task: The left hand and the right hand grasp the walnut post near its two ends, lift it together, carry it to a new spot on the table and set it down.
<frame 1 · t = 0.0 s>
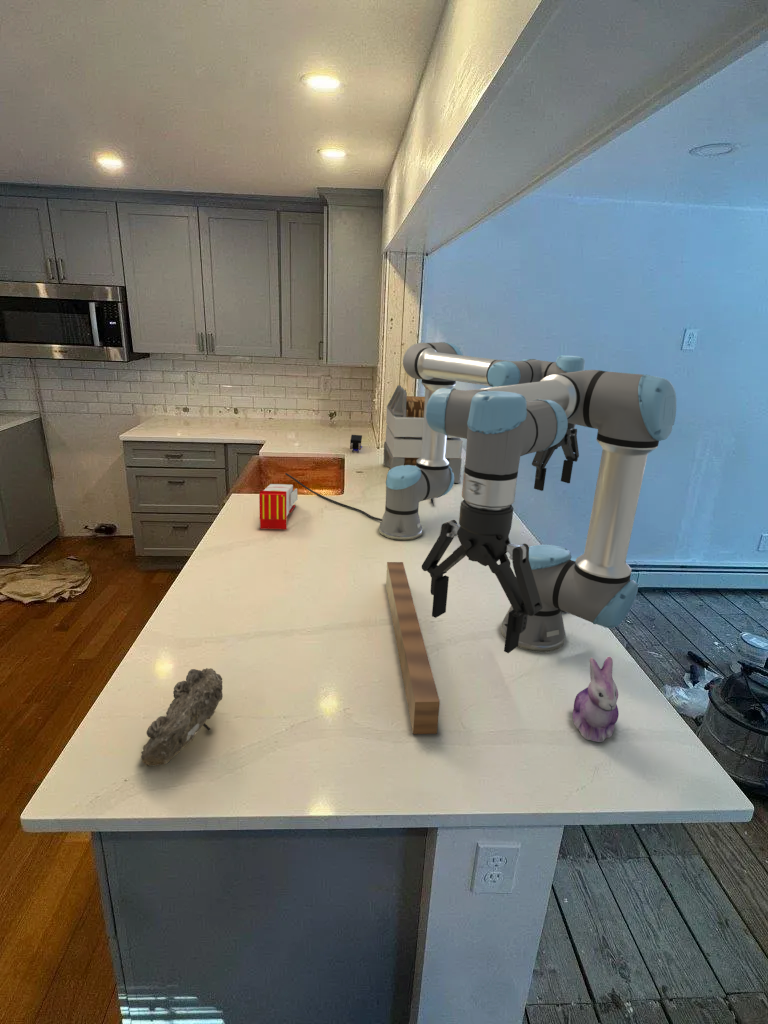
left hand: (552, 485, 166), 28 cm above the counter, tool pointing down, fingers open, 13 cm apart
right hand: (473, 630, 88), 28 cm above the counter, tool pointing down, fingers open, 13 cm apart
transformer: (419, 473, 275), on the counter
figurine: (594, 727, 110), on the counter
fossil: (190, 728, 105), on the counter
figurine character: (355, 450, 313), on the counter
toy: (278, 516, 211), on the counter
feather: (431, 496, 242), on the counter
post: (406, 643, 135), on the counter
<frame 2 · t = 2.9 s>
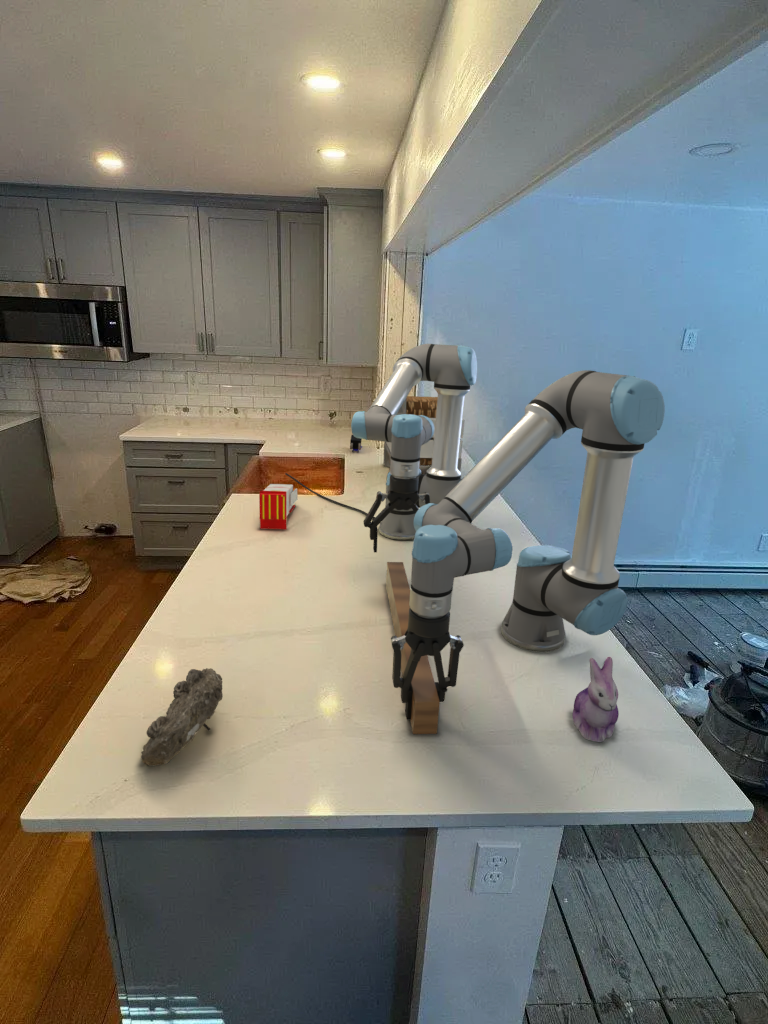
left hand: (399, 550, 154), 13 cm above the counter, tool pointing down, fingers open, 13 cm apart
right hand: (421, 714, 111), 0 cm above the counter, tool pointing down, fingers closed on post, 5 cm apart
post: (406, 643, 135), on the counter, touching right hand
everything else where it was.
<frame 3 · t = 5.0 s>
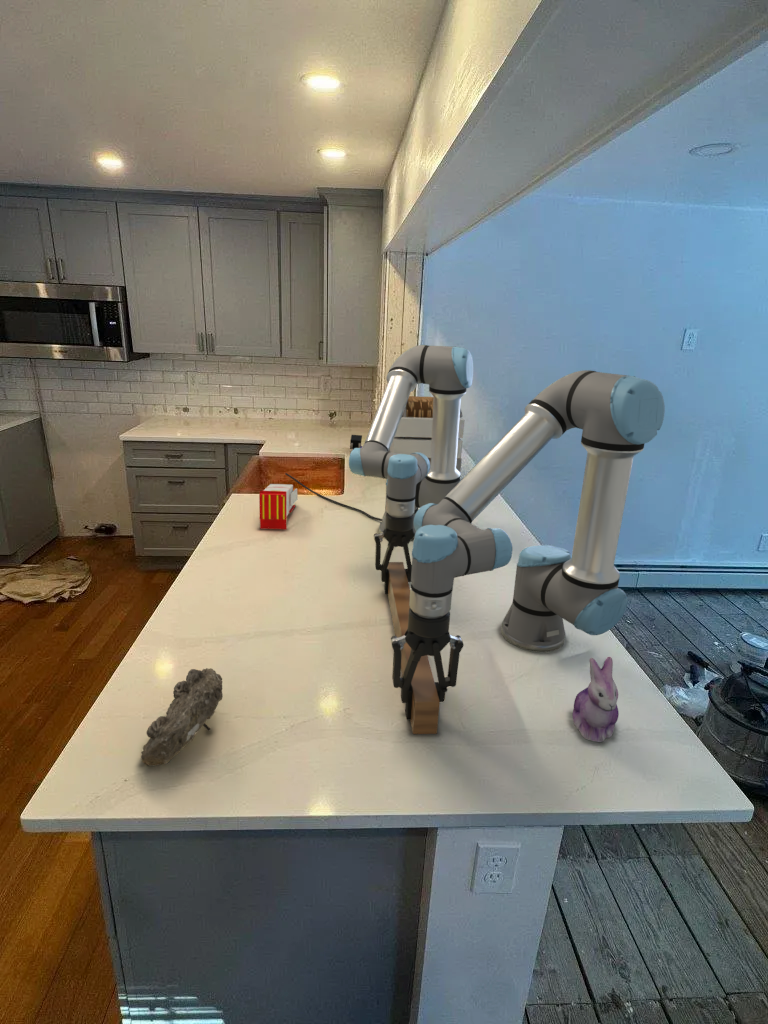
left hand: (395, 591, 158), 1 cm above the counter, tool pointing down, fingers closed on post, 5 cm apart
right hand: (421, 714, 111), 0 cm above the counter, tool pointing down, fingers closed on post, 5 cm apart
post: (406, 643, 135), on the counter, touching left hand, right hand
everything else where it was.
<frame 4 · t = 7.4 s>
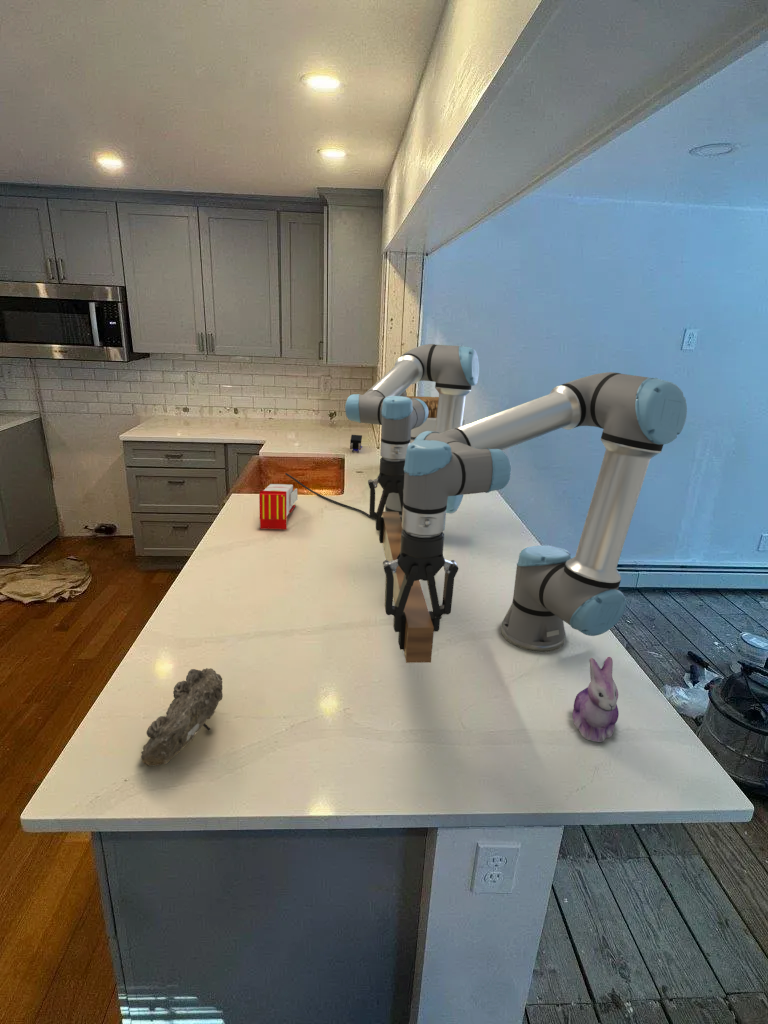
left hand: (390, 540, 154), 15 cm above the counter, tool pointing down, fingers closed on post, 5 cm apart
right hand: (415, 645, 107), 15 cm above the counter, tool pointing down, fingers closed on post, 5 cm apart
post: (400, 585, 130), point 15 cm above the counter, touching left hand, right hand
everything else where it was.
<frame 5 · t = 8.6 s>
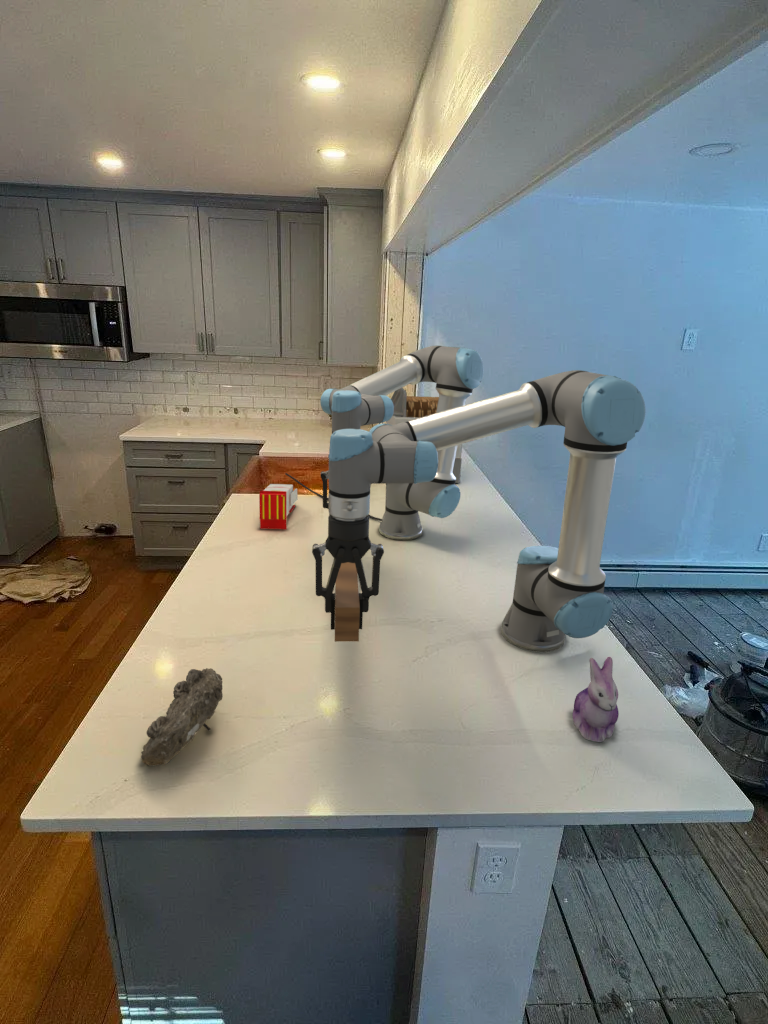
left hand: (344, 530, 159), 15 cm above the counter, tool pointing down, fingers closed on post, 5 cm apart
right hand: (346, 625, 112), 16 cm above the counter, tool pointing down, fingers closed on post, 5 cm apart
post: (345, 572, 136), point 15 cm above the counter, touching left hand, right hand
everything else where it was.
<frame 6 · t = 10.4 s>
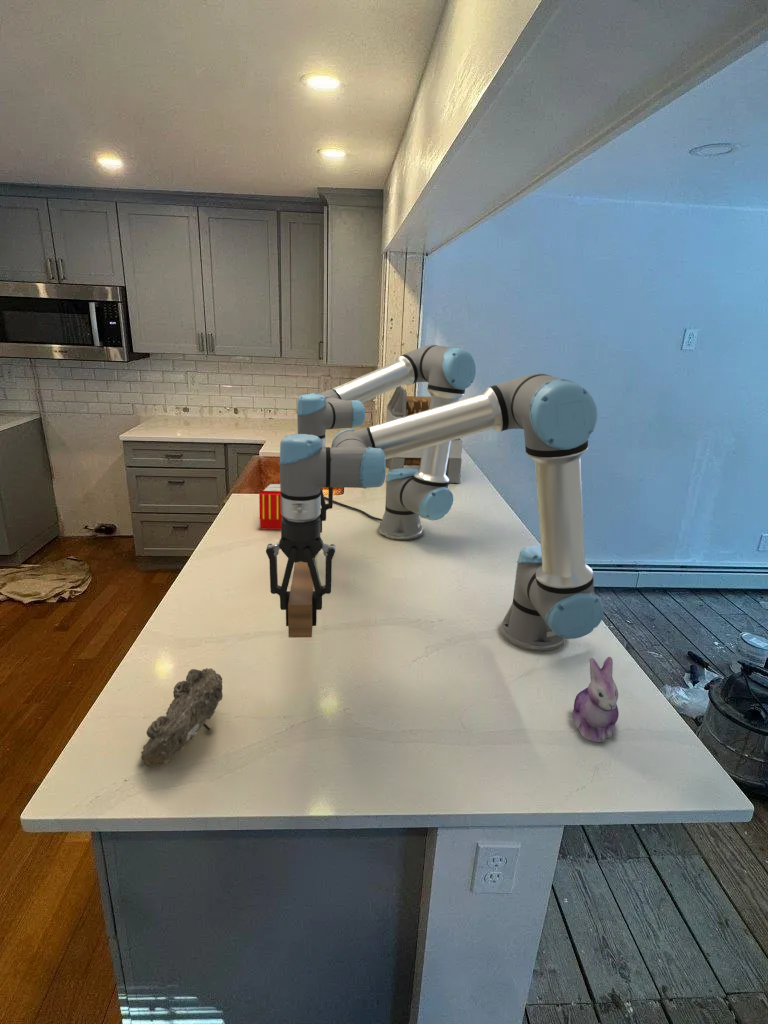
left hand: (311, 530, 164), 13 cm above the counter, tool pointing down, fingers closed on post, 5 cm apart
right hand: (301, 622, 116), 13 cm above the counter, tool pointing down, fingers closed on post, 5 cm apart
post: (307, 570, 140), point 13 cm above the counter, touching left hand, right hand
everything else where it was.
when the left hand's fingers open (2 cm above the counter, at t = 12.2 s): post drops 1 cm, on the counter.
when the right hand's fingers open (2 cm above the counter, at t = 12.2 s): post drops 1 cm, on the counter.
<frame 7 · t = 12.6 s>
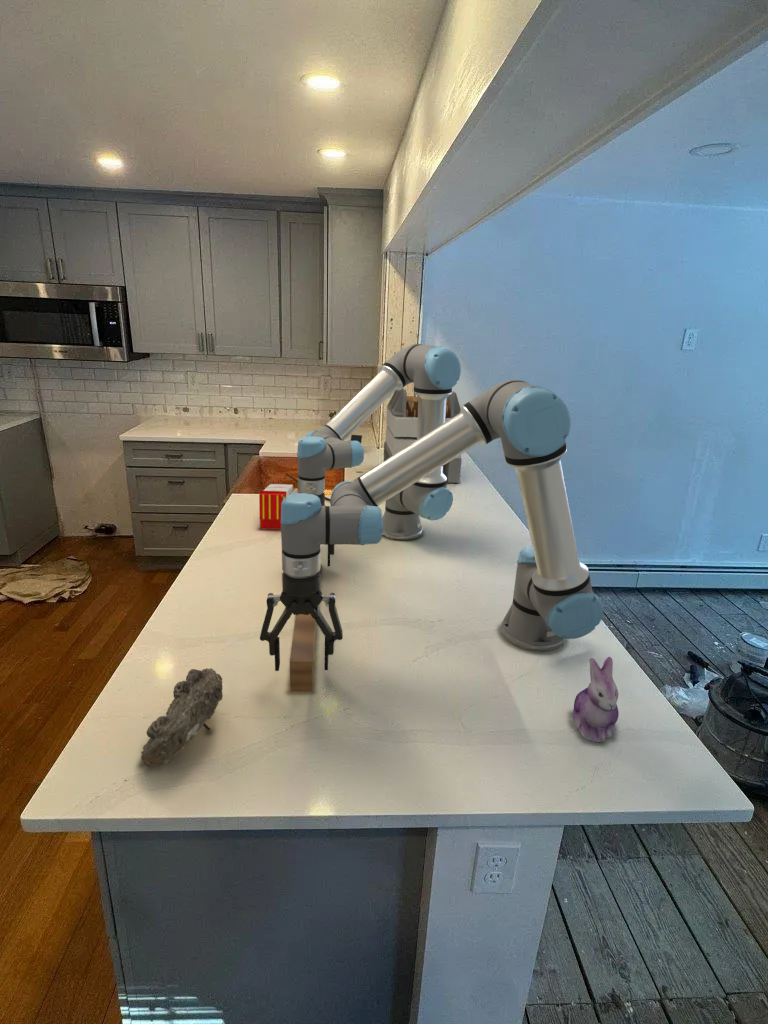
left hand: (311, 564, 167), 3 cm above the counter, tool pointing down, fingers open, 9 cm apart
right hand: (302, 666, 120), 3 cm above the counter, tool pointing down, fingers open, 9 cm apart
post: (308, 616, 144), on the counter
everything else where it was.
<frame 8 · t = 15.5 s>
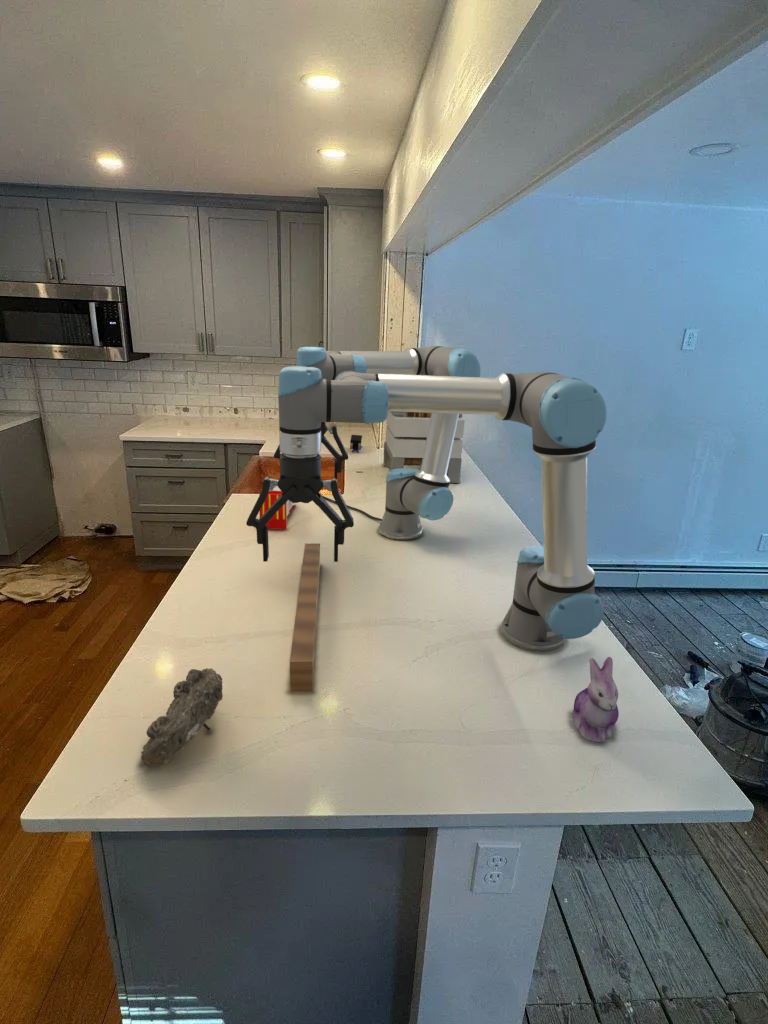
left hand: (311, 483, 159), 28 cm above the counter, tool pointing down, fingers open, 13 cm apart
right hand: (301, 559, 111), 28 cm above the counter, tool pointing down, fingers open, 13 cm apart
nothing on the counter moved.
at the end: post inside the target area (0.1 cm from its centre), on the counter; post tilted 0°; post never tilted more than 1° during the clip; both hands held the post at the same time; the left hand is holding nothing; the right hand is holding nothing; post at rest at the end (0.0 cm/s) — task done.
